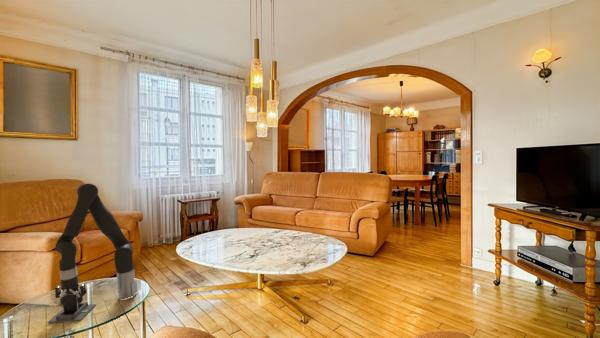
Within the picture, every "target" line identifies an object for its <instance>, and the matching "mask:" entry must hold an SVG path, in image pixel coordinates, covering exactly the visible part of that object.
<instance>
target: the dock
mask: <svg viewBox="0 0 600 338" xmlns="http://www.w3.org/2000/svg"><path fill="white" fill-rule="evenodd" d="M96 306H97V304H96V303H94V304H93V303H91V304H89V302H86V301H85V302H81V303H78V307H79V309H78V310H77V311H76V312H75V313H74V314H70V315H64V308H62V309H61V310H59V311H58V312H57V313H56V314H55V315H54V316H52V317H51V318H50V319H49V320H48V321H47V324H48V323H49V324H59V323H75V322H81V321H82V320H83V319H84V318H85V317H86V316H87V315H88V314H89V313H90V312H91V311H93V309H94V308H95V307H96Z"/></svg>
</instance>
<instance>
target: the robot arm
mask: <svg viewBox="0 0 600 338" xmlns="http://www.w3.org/2000/svg"><path fill="white" fill-rule="evenodd" d="M76 193H77V200H76V204H75V207H74V209H73V211H72V212H71V214H70V216H69V218H68V220H67V222H66V225H65V227H64V230H63V233H62V234H61V235H60V236H59V238H58V239H57V241H56V243H55V247H54V248H55V251H56V252H57V253H59V254H60V256H61V258H60V259H59V262H58V266H59V280H60V285H58V286H56V287H55V288H54V291H55V292H54V293H55V294H54V295H55V297H54V298H55V299H58V298H59V301H60V304H61V305H62V306H63V300H62V298H63V296H64V295H66V294H74V295H77V296H78V303H83V300H84V296H85V295H86V294H87V288H86V284H85V283H83V284H79V274H78V268H77V260H76V257H77V249H78V248H77V244H76V243H75V242H73V240H74V239H75V238H76V237H78V236H79V235H80V234H81V231H82V227H83V225H84V222H85V219H86V216H87V214H88V212H89V213H90V215H91V217H92V218H93V221H94V222H95V224H96V226H97V228H98V229H99V231H100V232H101V233H102V234H103V235H104V236H105V237H107V238H108V239H109V240H110V242H111V243H112V244H113V247H114V250H115V251H114V254H113V255H114V257H113V258H114V266H115V267H114V268H115V269H116V281H117V294H118V299H119V300H120V299H125V298H128V297H131V296H134V294H135V293H136V292H137V293H138V283H137V278H135V275H136V274H135V263H134V261H133V260H134V259H133V253H134V247H133V245H132V243H131V242H130V241H129V240H128V238H127V237H126V236H125V234H124V233H123V231H122V229H121V227H120V225H119V224H118V222H117V220H116V218H115V216H114V215H113V213H112V212H111V211H110V209H108V208H107V206H105V204H104V203H103V201H102V199H101V198H100V195H99V188H98V186H97V185H95V184H93V183H82V184H81V185H79V186H78V188H77V189H76ZM61 291H62V292H61Z"/></svg>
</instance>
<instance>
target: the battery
mask: <svg viewBox="0 0 600 338" xmlns="http://www.w3.org/2000/svg"><path fill="white" fill-rule="evenodd" d="M62 300H63V305H62V307H63V308H64V315H70V314H74V313H75V312H76V311H77V310H78V309H79V307H78V296H77V295H74V294H65V295H64V296H63V298H62ZM63 308H62V309H63Z"/></svg>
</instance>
